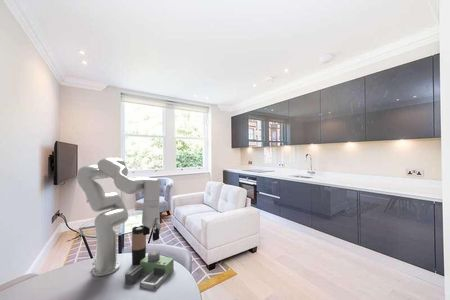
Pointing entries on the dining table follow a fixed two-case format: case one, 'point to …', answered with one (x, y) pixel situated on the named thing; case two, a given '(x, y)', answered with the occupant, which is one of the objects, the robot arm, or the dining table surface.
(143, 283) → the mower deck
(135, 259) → the travel mug
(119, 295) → the dining table surface
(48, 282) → the dining table surface
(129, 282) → the ridged grey block
